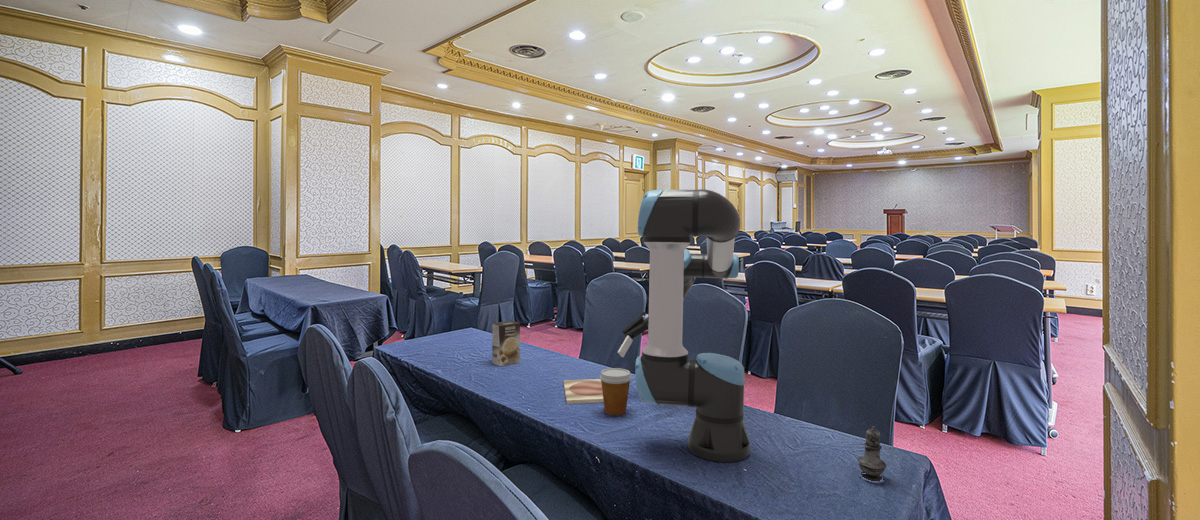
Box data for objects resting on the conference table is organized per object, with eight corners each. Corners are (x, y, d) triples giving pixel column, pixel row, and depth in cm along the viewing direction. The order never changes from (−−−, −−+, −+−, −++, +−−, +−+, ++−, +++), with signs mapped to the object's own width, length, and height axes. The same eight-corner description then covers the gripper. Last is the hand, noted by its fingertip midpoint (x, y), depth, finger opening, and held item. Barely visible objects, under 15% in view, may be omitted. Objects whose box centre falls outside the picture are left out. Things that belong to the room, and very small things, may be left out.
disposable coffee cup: (628, 418, 154) (629, 378, 153) (596, 416, 156) (596, 375, 155) (633, 407, 163) (633, 368, 162) (602, 404, 165) (602, 366, 164)
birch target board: (617, 401, 167) (617, 397, 167) (566, 403, 166) (566, 399, 165) (609, 382, 187) (609, 378, 187) (563, 383, 185) (563, 379, 185)
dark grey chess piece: (853, 478, 119) (856, 426, 118) (859, 468, 124) (862, 418, 123) (883, 487, 116) (885, 433, 115) (888, 476, 120) (891, 424, 119)
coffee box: (500, 367, 205) (499, 325, 204) (491, 363, 210) (491, 323, 209) (520, 362, 211) (520, 322, 210) (512, 359, 216) (511, 320, 215)
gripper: (704, 317, 167) (673, 374, 158) (643, 307, 185) (613, 357, 176) (694, 302, 163) (662, 360, 154) (633, 293, 181) (601, 344, 172)
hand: (636, 359), depth 165 cm, fingers open, 13 cm apart
